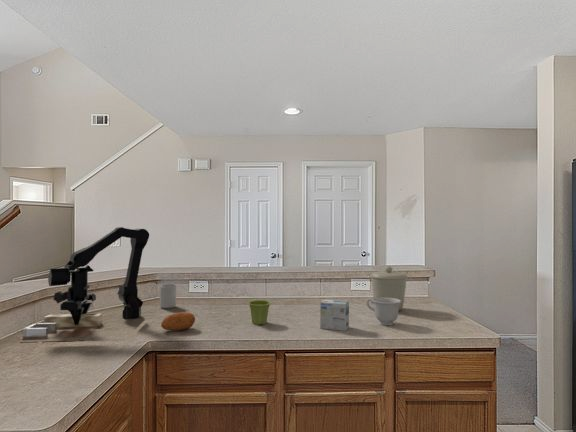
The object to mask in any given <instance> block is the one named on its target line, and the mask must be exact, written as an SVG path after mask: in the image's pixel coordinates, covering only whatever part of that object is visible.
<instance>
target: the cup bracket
mask: <svg viewBox="0 0 576 432" xmlns="http://www.w3.org/2000/svg"><path fill="white" fill-rule="evenodd" d="M56 331H57V323H44V322H36V323H33V324H30V325H28V326H26V327H25V328H22V337H23V338H30V337H47V336H48V332H56ZM30 339H31V338H30Z"/></svg>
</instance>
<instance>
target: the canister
mask: <svg viewBox="0 0 576 432" xmlns="http://www.w3.org/2000/svg"><path fill="white" fill-rule="evenodd" d="M369 276H370V279H371V287H372V299H373V298H378V297H388V298H395V299H399V300H401V302H400V304H399V310H398V312H399V311H401V310H402V309H403V306H404V304H405V303H404V302H405V295H406V286H407V279H408V277H409V276H408V275H406V274H405V273H403V272H398V271H393V267H391V266H389V265H387V266H385V267H384V271H382V270H381V271H375V272H373V273H371V274H370V275H369Z"/></svg>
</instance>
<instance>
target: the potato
mask: <svg viewBox="0 0 576 432" xmlns="http://www.w3.org/2000/svg"><path fill="white" fill-rule="evenodd" d="M195 323H196V317H195V314H193V313H191V312H186V311H184V312H183V311H182V312H181V311H180V312H175V313H172V314H169V315H168V316H166V317H164V318H163V320H162V322H161V323H160V324H161V325H160V326H161V328H162V329H163V330H166V331H183V330H189V329H190V328H192V327H193V326H194V324H195Z"/></svg>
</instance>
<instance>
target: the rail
mask: <svg viewBox="0 0 576 432" xmlns="http://www.w3.org/2000/svg"><path fill="white" fill-rule="evenodd" d="M102 322H103V313H87V314H82V315H81V318H80V321H79V324H78V325H75V324H74V321H73V318H72V315H71V313H67V314H65V313H62V314H60V313H59V314H58V313H57V314H47V315H45V316H44V317H43V323H57V327H90V326H98V327H100V326H101V325H103V323H102ZM99 325H100V326H99Z"/></svg>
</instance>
